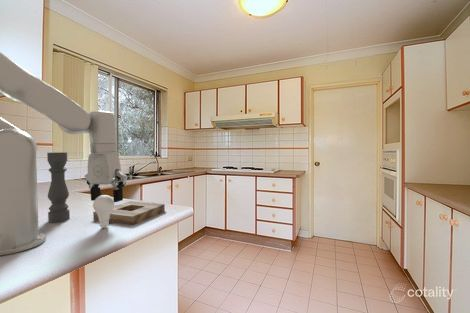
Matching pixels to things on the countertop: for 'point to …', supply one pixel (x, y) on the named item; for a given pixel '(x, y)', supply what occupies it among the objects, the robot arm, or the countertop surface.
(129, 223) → the socket block
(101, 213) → the lightbulb
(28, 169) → the robot arm
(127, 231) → the countertop surface
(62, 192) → the candle holder
